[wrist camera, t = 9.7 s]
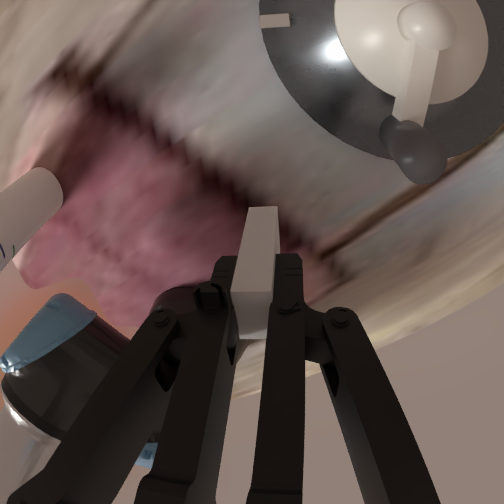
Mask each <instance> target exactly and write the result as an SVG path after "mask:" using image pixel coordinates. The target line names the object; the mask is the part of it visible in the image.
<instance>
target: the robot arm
mask: <svg viewBox="0 0 504 504" xmlns="http://www.w3.org/2000/svg"><path fill="white" fill-rule="evenodd" d="M248 339H266V349H265V359H264V370H263V380H262V390H261V400H260V410H259V419H258V429H257V438H256V448H255V456H254V465H253V474H252V482H251V487H250V490H249V492H248V496H247V501H246V504H302V488H303V463H304V430H305V429H304V428H305V360H308V361H312V362H315V363H319V364H320V368H321V371H322V374H323V376H324V380H325V382H326V385H327V388H328V391H329V394H330V397H331V400H332V403H333V406H334V409H335V412H336V415H337V418H338V421H339V424H340V427H341V430H342V433H343V437H344V440H345V443H346V446H347V449H348V452H349V455H350V458H351V461H352V465H353V468H354V471H355V474H356V477H357V481H358V484H359V487H360V490H361V493H362V496H363V500H364V503H365V504H441V503H440V501H439V498H438V496H437V493H436V490H435V487H434V485H433V482H432V480H431V477H430V474H429V472H428V469H427V467H426V464H425V462H424V459H423V457H422V454H421V452H420V450H419V447H418V445H417V442H416V440H415V438H414V435H413V433H412V431H411V428H410V426H409V424H408V421H407V419H406V417H405V415H404V412H403V410H402V408H401V406H400V403H399V401H398V399H397V397H396V395H395V392H394V390H393V388H392V386H391V384H390V382H389V379H388V377H387V375H386V373H385V371H384V369H383V367H382V365H381V363H380V360H379V358H378V356H377V354H376V352H375V350H374V348H373V346H372V344H371V342H370V340H369V338H368V336H367V334H366V332H365V330H364V328H363V326H362V324H361V322H360V320H359V318H358V316H357V315H356V314H355V312H354V311H352V310H350V309H348V308H344V307H335V308H332V309H329V310H328V311H327V312H326V313H322V312H318V311H315V310H313V309H311V308H309V307H308V306H307V305H306V303H305V302H304V295H303V269H302V259H301V258H300V257H299V255H298V254H297V253H295V254H280V239H279V225H278V210H277V206H267V207H249V209H248V214H247V218H246V223H245V227H244V232H243V236H242V240H241V245H240V249H239V254H238V256H222V257H221V258H220V259H219V260H218V261H217V262H216V263H215V267H214V270H213V273H212V278H211V280H210V281H207V282H203V283H201V284H199V285H198V286H196V287H195V288H189V287H183V288H175V289H171V290H168V291H166V292H164V293H162V294H161V295H160V296H158V298H157V299H156V300H155V302H154V304H153V306H152V308H151V311H150V313H149V316H148V317H147V318H146V320H145V321H144V323H143V324H142V325H141V327H140V328H139V329H138V331H137V332H136V334H135V335H134V336H133V338H132V339H131V340H129V339H128V338H127V337H125V336H124V335H122V334H121V333H119V332H118V331H117V330H116V329H114V328H113V327H112V326H110V325H109V324H108V323H107V322H105V321H104V320H103V319H101V318H100V317H99V316H98V315H97V313H96V312H95V311H93V310H89V309H88V308H87V307H85V306H84V305H83V304H81V303H80V302H79V301H77V300H76V299H75V298H73V297H72V296H70V295H68V294H65V293H59V294H56V295H54V296H52V297H51V298H50V299H49V300H48V301H47V303H46V304H45V305H44V306H43V307H42V308H41V309H40V310H39V311H38V313H37V314H36V315H35V316H34V317H33V318H32V319H31V321H30V322H29V323H28V324H27V325H26V326H25V328H24V329H23V330H22V331H21V332H20V334H19V335H18V336H17V337H16V339H15V340H14V341H13V342H12V343H11V344H10V346H9V347H8V348H7V349H6V351H5V352H4V353H3V354H2V356H1V357H0V367H1V369H2V371H3V372H6V374H5V376H4V378H3V380H2V381H1V384H0V389H1V392H2V396H3V399H4V402H5V404H4V406H3V408H2V410H1V412H0V504H111V503H112V502H113V500H114V499H115V497H116V496H117V494H118V492H119V490H120V488H121V487H122V485H123V483H124V481H125V480H126V478H127V476H128V474H129V473H130V471H131V469H132V467H133V465H134V464H135V465H139V466H142V467H147V468H151V471H150V472H149V474H147V475H146V476H144V477H143V478H142V480H141V481H140V483H139V486H138V489H137V493H136V497H135V501H134V504H216V500H215V496H216V488H217V482H218V475H219V469H220V463H221V457H222V450H223V444H224V438H225V431H226V425H227V419H228V412H229V406H230V399H231V393H232V387H233V380H234V374H235V368H236V364H237V362H238V361H239V359H240V358H241V356H242V354H243V353H244V351H245V349H246V347H247V344H248Z"/></svg>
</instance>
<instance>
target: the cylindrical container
mask: <svg viewBox="0 0 504 504" xmlns="http://www.w3.org/2000/svg"><path fill="white" fill-rule="evenodd" d="M62 203H63V192H62V188H61V186H60V183H59V182H58V180H57V178H56V177H55V176H54V175H53V174H52V173H51V172H50V171H49V170H47V169H45V168H42V167H36V168H33V169H32V170H30V171H29V172H27V173H26V174H25V175H23V176H22V177H21V178H19V179H18V180H17V181H15V182H14V183H13V184H11V185H10V186H9V187H8V188H6V189H5V190H4V191H3V192H1V193H0V272H1V271H2V270H3V269H4V267H5V266H6V265H7V264H8V263H9V261H10V260H11V259H12V258H13V257H14V256H15V255H16V254H17V253H18V252H19V250H20V249H21V248H22V247H23V246H24V245H25V244H26V243H27V242H28V241H29V240H30V239H31V238H32V236H33V235H34V234H35V233H36V232H37V231H38V230H39V229H40V228H41V227H42V226H43V225H44V224H45V223H46V222H47V221H48V220H49V219H50V218H51V217H52V216H53V215H54V214H55V213H56V212H57V211H58V210H59V209H60V208H61V206H62Z"/></svg>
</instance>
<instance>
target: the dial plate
mask: <svg viewBox="0 0 504 504" xmlns="http://www.w3.org/2000/svg"><path fill="white" fill-rule="evenodd" d="M476 2H477V3H478V5H479V7H480V9H481V12H482V14H483V17H484V20H485V24H486V27H487V34H488V53H487V59H486V63H485V66H484V68H483V71H482V73H481V75H480V76H479V78H478V80H477V81H476V82H475V84H474V85H473V86H472V87H471V88H470V89H469V90H468V91H467V92H465V93H464V94H462V95H461V96H459V97H457V98H455V99H453V100H451V101H447V102H444V103H439V104H428V108H427V112H426V116H425V120H424V124H423V128H424V129H426V130H427V131H428V132H429V133H431V134H432V135H433V136H434V137H436V138H437V139H438V140H439V141H440V142H441V143H442V144H443V145H444V147H445V149H446V152H447V158H450V157H454V156H457V155H459V154H462V153H464V152H466V151H468V150H470V149H472V148H474V147H475V146H477V145H479V144H480V143H482V142H483V141H484V140H486V139H487V138H488V137H489V136H490V135H492V134H493V133H494V132H495V131H496V130H497V128H498V127H499V126H500V125H501V124H502V123H503V121H504V0H476ZM334 3H335V0H260V1H259V11H260V15H259V21H260V28H261V30H262V35H263V40H264V43H265V46H266V49H267V52H268V55H269V58H270V60H271V62H272V64H273V66H274V68H275V70H276V72H277V74H278V76H279V78H280V79H281V81H282V82H283V84H284V86H285V87H286V89H287V90H288V92H289V93H290V94H291V96H292V97H293V98H294V99H295V100H296V102H297V103H298V104H299V105H300V107H301V108H302V109H303V110H304V111H305V112H306V113H307V114H308V115H309V116H310V117H311V118H312V119H313V120H314V121H316V122H317V123H318V124H319V125H321V126H322V127H323V128H325V129H326V130H327V131H328V132H329V133H331V134H333V135H334V136H336V137H337V138H339V139H341V140H342V141H344V142H345V143H347V144H349V145H352V146H354V147H356V148H358V149H360V150H362V151H365V152H367V153H370V154H373V155H376V156H379V157H383V158H387V159H392V160H394V159H393V158H392V156H391V155H390V154H389V152H388V151H387V150H386V148H385V147H384V146H383V144H382V143H381V141H380V137H379V129H380V126H381V123H382V122H383V120H384V119H385V118H386V117H388V116H390V115H392V112H393V107H394V103H395V98H396V97H394V96H392V95H390V94H388V93H386V92H384V91H383V90H381V89H380V88H378V87H376V86H375V85H374V84H372V83H371V82H370V81H368V80H367V79H366V78H365V77H364V76H363V75H362V74H361V73H360V72H359V71H358V70H357V69H356V68H355V66H354V65H353V64H352V63H351V61H350V60H349V58H348V57H347V55H346V54H345V52H344V50H343V48H342V46H341V44H340V41H339V38H338V36H337V32H336V28H335V23H334Z"/></svg>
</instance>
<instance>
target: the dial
mask: <svg viewBox="0 0 504 504" xmlns="http://www.w3.org/2000/svg"><path fill="white" fill-rule="evenodd" d="M334 23H335V28H336V32H337V36H338V38H339V41H340V44H341V46H342V48H343V50H344V52H345V54H346V55H347V57H348V58H349V60H350V61H351V63H352V64H353V65H354V66H355V68H356V69H357V70H358V71H359V72H360V73H361V74H362V75H363V76H364V77H365V78H366V79H367V80H368V81H370V82H371V83H372V84H374V85H375V86H376V87H378V88H380V89H381V90H383V91H384V92H386V93H388V94H390V95H392V96H394V97H396V98H395V103H394V107H393V112H392V115H390V116H388V117H386V118H385V119H384V120H383V122H382V123H381V126H380V129H379V137H380V141H381V143H382V144H383V146H384V147H385V148H386V150H387V151H388V152H389V154H390V155H391V156H392V158H393V159H394V160H395V162H396V163H397V164H398V166H399V167H400V169H401V170H402V171H403V173H404V174H405V176H406V177H407V178H408V179H409V180H411V181H412V182H414V183H417V184H429V183H432V182H434V181H435V180H437V179H438V178H439V177H440V176H441V175H442V174H443V172H444V170H445V168H446V165H447V152H446V149H445V147H444V145H443V144H442V143H441V142H440V141H439V140H438V139H437V138H436V137H434V136H433V135H432V134H431V133H429V132H428V131H427V130H426V129H424V128H423V124H424V120H425V116H426V112H427V108H428V104H439V103H444V102H447V101H451V100H453V99H455V98H457V97H459V96H461V95H462V94H464V93H465V92H467V91H468V90H469V89H470V88H471V87H472V86H473V85H474V84H475V82H476V81H477V80H478V78H479V76H480V75H481V73H482V71H483V68H484V66H485V63H486V59H487V53H488V34H487V27H486V24H485V20H484V17H483V14H482V12H481V9H480V7H479V5H478V3H477V2H476V0H335V3H334Z"/></svg>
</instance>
